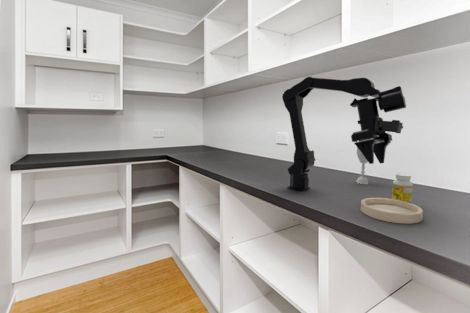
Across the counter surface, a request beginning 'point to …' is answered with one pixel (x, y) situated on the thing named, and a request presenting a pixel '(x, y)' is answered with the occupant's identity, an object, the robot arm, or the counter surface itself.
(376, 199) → the round tray
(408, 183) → the supplement bottle
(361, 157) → the chalice
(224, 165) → the counter surface
